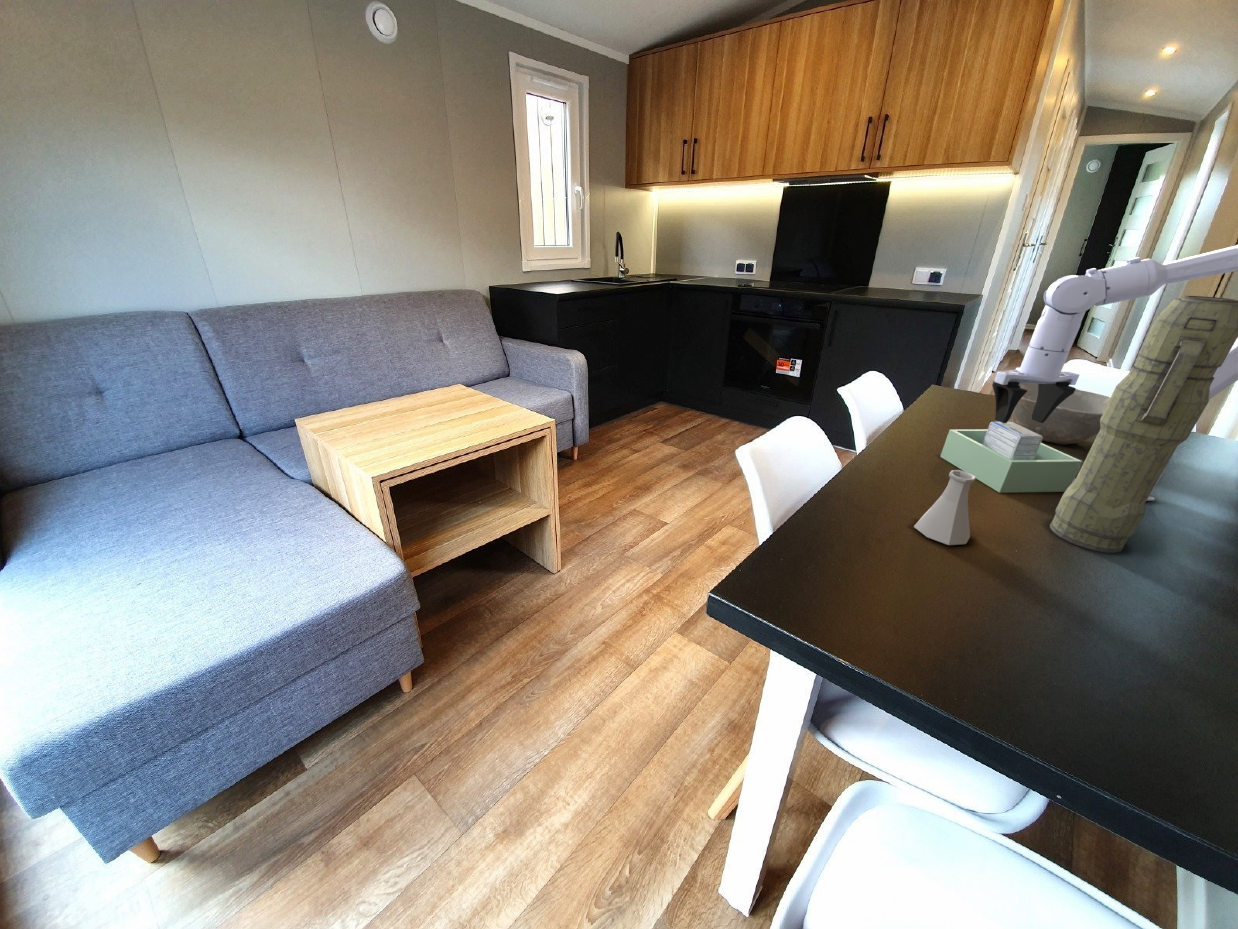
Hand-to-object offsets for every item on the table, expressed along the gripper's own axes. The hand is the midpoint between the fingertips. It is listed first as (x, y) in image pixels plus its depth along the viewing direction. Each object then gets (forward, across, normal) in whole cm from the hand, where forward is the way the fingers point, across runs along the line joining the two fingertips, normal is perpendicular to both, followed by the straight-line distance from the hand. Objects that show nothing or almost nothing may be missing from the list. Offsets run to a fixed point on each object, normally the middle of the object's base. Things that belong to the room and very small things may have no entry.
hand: (1019, 421), depth 92 cm
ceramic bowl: (+11, -26, -17) cm, 33 cm away
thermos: (+11, +6, +23) cm, 26 cm away
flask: (+11, +28, +21) cm, 36 cm away
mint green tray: (+10, +1, +1) cm, 10 cm away
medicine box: (+10, +1, +1) cm, 10 cm away
